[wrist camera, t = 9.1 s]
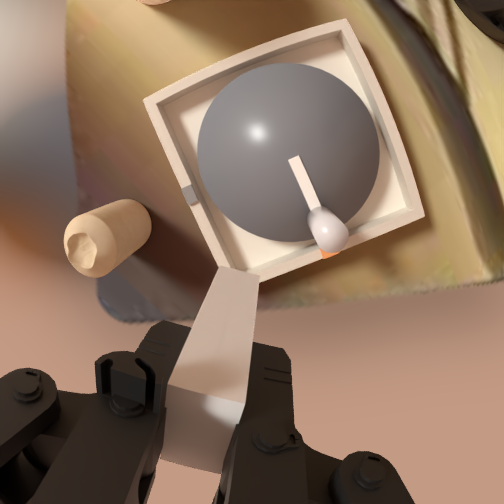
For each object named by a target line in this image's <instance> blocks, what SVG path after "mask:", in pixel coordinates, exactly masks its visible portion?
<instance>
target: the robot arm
mask: <svg viewBox="0 0 504 504" xmlns="http://www.w3.org/2000/svg"><path fill="white" fill-rule="evenodd" d="M455 2H456V3H457V5H458V6H459V7H460V9H461V10H462V11H463V12H464V14H465V15H466V16H467V17H468V18H469V19H470V20H471V21H472V22H473V23H474V24H475V25H476V26H477V27H478V28H479V29H481V30H482V31H483V32H484V33H486V34H487V35H488V36H490V37H491V38H493V39H495V40H497V41H499V42H501V43H504V0H455ZM259 280H260V275H257V274H252V273H248V272H244V271H240V270H236V269H232V268H228V267H224V266H219V268H218V271H217V273H216V275H215V277H214V279H213V282H212V284H211V286H210V288H209V290H208V293H207V295H206V297H205V299H204V302H203V304H202V306H201V308H200V310H199V313H198V315H197V317H196V319H195V322H194V324H193V326H192V328H190V327H187V326H183V325H179V324H176V323H172V322H169V321H165V320H163V321H161V322H159V323H157V324H156V325H154V326H152V327H151V328H150V330H149V331H148V333H147V334H146V336H145V338H144V339H143V340H142V342H141V343H140V345H139V348H137V350H136V351H135V353H134V352H129V351H117V352H111V353H108V354H105V355H102V357H100V358H99V359H98V360H97V361H95V374H96V388H97V393H93V394H80V393H73V392H67V391H60V390H57V388H56V384H55V381H54V380H53V379H52V378H51V377H50V376H49V375H48V374H46V373H45V372H43V371H41V370H37V369H32V368H22V369H17V370H14V371H12V372H10V373H8V374H7V375H5V376H3V377H2V378H0V504H146V503H147V500H148V497H149V494H150V491H151V488H152V485H153V482H154V479H155V472H156V464H157V462H158V459H159V456H160V453H161V457H160V459H163V460H166V461H169V462H173V463H177V464H180V465H184V466H188V467H192V468H197V469H200V470H204V471H209V472H213V473H218V474H221V472H222V474H221V479H220V484H219V487H218V489H217V492H216V494H215V497H214V499H213V502H212V504H415V503H414V501H413V499H412V498H411V496H410V494H409V492H408V491H407V489H406V487H405V485H404V483H403V482H402V480H401V478H400V476H399V475H398V473H397V471H396V469H395V468H394V467H393V465H392V464H391V463H390V462H389V461H388V460H387V459H385V458H384V457H382V456H381V455H379V454H375V453H372V452H369V451H358V452H355V453H352V454H349V455H348V456H347V457H346V458H345V459H344V460H343V461H342V460H339V459H336V458H333V457H330V456H328V455H325V454H322V453H320V452H318V451H316V450H313V449H312V448H310V447H309V446H308V445H306V444H305V443H304V442H303V439H302V436H301V434H300V433H299V432H298V431H297V429H296V428H295V425H294V409H293V390H292V375H291V360H290V359H289V357H288V355H287V354H286V352H285V351H284V349H283V348H278V347H274V346H269V345H265V344H260V343H256V342H253V334H254V325H255V316H256V307H257V298H258V289H259Z"/></svg>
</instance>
